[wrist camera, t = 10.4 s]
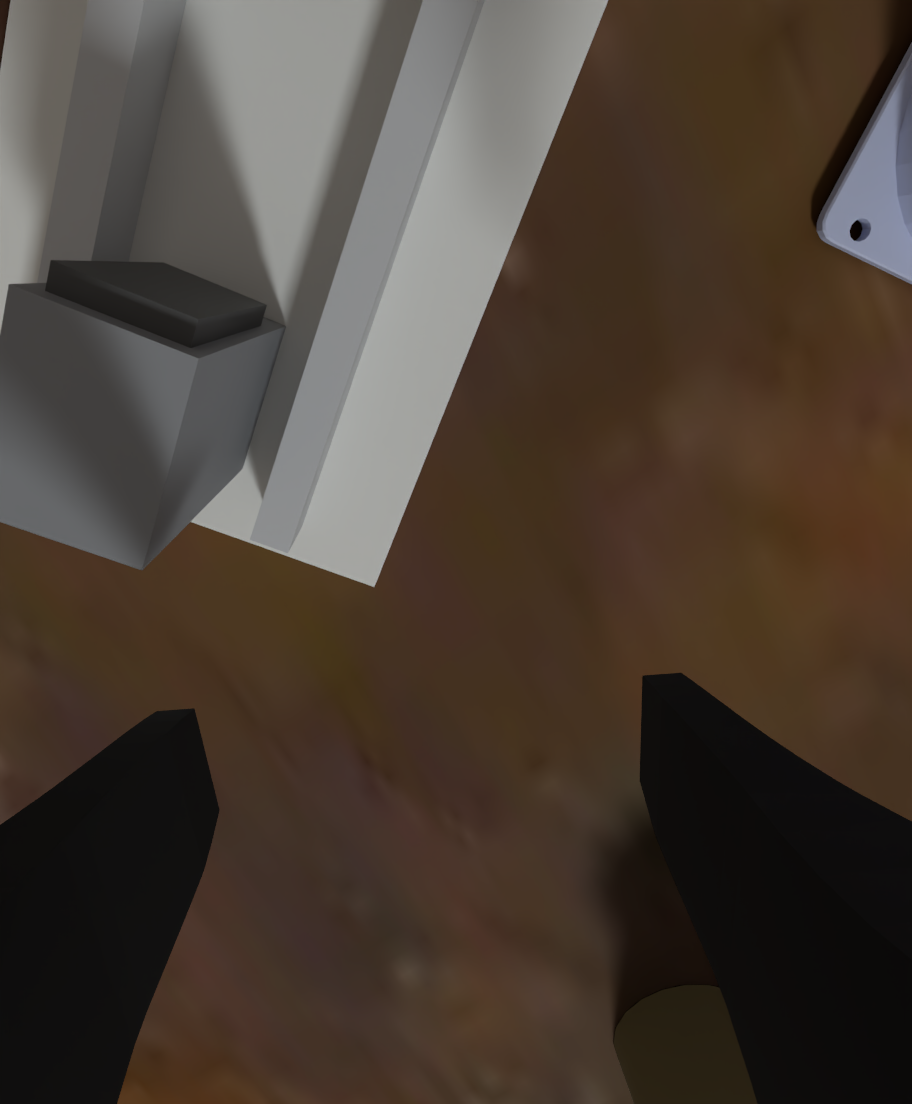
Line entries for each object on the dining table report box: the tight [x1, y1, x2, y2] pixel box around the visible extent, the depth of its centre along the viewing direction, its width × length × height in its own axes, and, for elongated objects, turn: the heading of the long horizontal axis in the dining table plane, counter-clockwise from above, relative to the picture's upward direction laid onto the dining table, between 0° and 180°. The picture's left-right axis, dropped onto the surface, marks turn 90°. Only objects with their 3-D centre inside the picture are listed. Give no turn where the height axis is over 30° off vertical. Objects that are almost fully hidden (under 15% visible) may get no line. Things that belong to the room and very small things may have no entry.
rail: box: [0, 0, 608, 587], centre depth 13 cm, size 12×22×8 cm, turn 158°
